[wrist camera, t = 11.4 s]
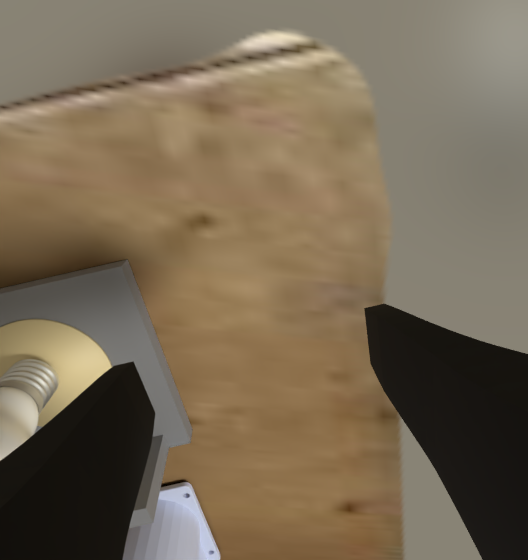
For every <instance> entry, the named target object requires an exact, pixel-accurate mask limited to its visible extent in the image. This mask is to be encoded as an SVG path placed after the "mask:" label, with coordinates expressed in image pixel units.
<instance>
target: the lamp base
mask: <svg viewBox="0 0 528 560" xmlns="http://www.w3.org/2000/svg"><path fill="white" fill-rule="evenodd" d="M24 359H36V360H40V361H43V362H45V363H47V364H49V365H50V366H51V367H52V368H53V369H54V370H55V371H56V373H57V374H58V377H59V386H58V389H57V390H56V392H55V393H54V394H53V396H52V397H51V398H50V400H49V401H48V403H47V404H46V406H45V407H44V408H43V409H42V411H41V413H40V414H39V420H38V425H37V429H36V431H35V433H36V432H37V431H38V430H39V429H41V428H42V427H43V426H44V425H45V424H47V423H48V422H49V421H50V420H51V419H53V418H54V417H55V416H56V415H57V414H58V413H60V412H61V411H62V410H63V409H64V408H65V407H66V406H68V405H69V404H70V403H71V402H72V401H73V400H74V399H75V398H76V397H78V396H79V395H80V394H81V393H82V392H83V391H84V390H85V389H87V388H88V387H89V386H90V385H91V384H92V383H93V382H94V381H96V380H97V379H98V378H99V377H100V376H101V375H103V374H104V373H105V372H106V371H108V370H109V369H110V368H112V367H113V366H115V365H119V364H124V363H128V362H133V361H134V364H135V366H136V368H137V371H138V373H139V375H140V378H141V380H142V382H143V385H144V387H145V389H146V392H147V394H148V397H149V399H150V401H151V404H152V406H153V408H154V411H155V421H154V430H153V437H152V444H151V448H150V452H149V456H148V460H147V463H146V467H145V471H144V475H143V478H142V482H141V485H140V489H139V493H138V496H137V500H136V504H135V507H134V511H133V514H132V518H131V522H130V526H129V528H132V527H137V526H141V525H145V524H150V523H153V522H154V517H155V512H156V507H157V502H158V498H159V493H160V488H161V483H162V478H163V474H164V469H165V464H166V459H167V455H168V450H169V448H170V447H175V446H179V445H183V444H188V443H191V436H192V427H191V424H190V422H189V419H188V416H187V414H186V411H185V409H184V406H183V403H182V401H181V398H180V395H179V393H178V390H177V388H176V385H175V382H174V380H173V377H172V375H171V372H170V369H169V367H168V364H167V361H166V359H165V356H164V354H163V351H162V348H161V346H160V343H159V340H158V338H157V335H156V333H155V330H154V327H153V325H152V322H151V320H150V317H149V314H148V312H147V309H146V306H145V304H144V301H143V299H142V296H141V293H140V291H139V288H138V286H137V283H136V280H135V278H134V275H133V272H132V270H131V267H130V265H129V262H128V259H127V260H123V261H118V262H114V263H109V264H105V265H101V266H96V267H92V268H88V269H83V270H79V271H74V272H70V273H66V274H61V275H57V276H53V277H48V278H44V279H40V280H35V281H31V282H26V283H22V284H18V285H13V286H9V287H5V288H0V378H1V377H2V376H3V375H4V373H6V372H7V371H8V369H9V368H11V367H12V366H13V365H14V364H15V363H16V362H18V361H21V360H24Z"/></svg>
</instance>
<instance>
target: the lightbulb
mask: <svg viewBox="0 0 528 560" xmlns="http://www.w3.org/2000/svg"><path fill="white" fill-rule="evenodd" d="M58 386H59V377H58V374H57V373H56V371H55V370H54V369H53V368H52V367H51V366H50V365H49V364H47V363H45V362H43V361H40V360H36V359H24V360H21V361H18V362H16V363H15V364H14V365H13V366H12V367H11V368H9V369H8V371H7V372H6V373H4V375H3V376H2V377H1V378H0V461H1V460H2V459H3V458H5V457H6V456H7V455H9V454H10V453H11V452H12V451H14V450H15V449H16V448H18V447H19V446H20V445H21V444H23V443H24V442H25V441H26V440H28V439H29V438H30V437H31V436H32V435H34V434H35V431H36V429H37V425H38V420H39V414H40V413H41V411H42V409H43V408H44V407H45V406H46V404H47V403H48V401H49V400H50V398H51V397H52V396H53V394H54V393H55V392H56V390H57V389H58Z"/></svg>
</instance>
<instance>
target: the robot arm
mask: <svg viewBox="0 0 528 560" xmlns="http://www.w3.org/2000/svg"><path fill="white" fill-rule="evenodd" d="M364 309H365V317H366V326H367V335H368V344H369V353H370V362H371V365H372V367H373V369H374V371H375V374H376V376H377V378H378V380H379V382H380V384H381V386H382V388H383V390H384V392H385V393H386V395H387V396H388V398H389V399H390V401H391V402H392V404H393V405H394V407H395V408H396V410H397V411H398V413H399V414H400V416H401V417H402V419H403V420H404V422H405V423H406V425H407V426H408V428H409V429H410V431H411V432H412V434H413V435H414V437H415V438H416V440H417V441H418V443H419V444H420V446H421V447H422V449H423V450H424V452H425V453H426V455H427V457H428V458H429V460H430V461H431V463H432V465H433V466H434V468H435V470H436V471H437V473H438V475H439V477H440V479H441V480H442V482H443V484H444V486H445V488H446V490H447V492H448V494H449V495H450V497H451V499H452V501H453V503H454V505H455V507H456V509H457V510H458V512H459V514H460V516H461V518H462V520H463V522H464V524H465V526H466V528H467V530H468V532H469V534H470V536H471V538H472V540H473V541H474V543H475V545H476V547H477V549H478V551H479V553H480V555H481V557H482V559H483V560H528V354H525V353H521V352H518V351H514V350H510V349H507V348H503V347H499V346H496V345H492V344H489V343H485V342H482V341H479V340H476V339H473V338H471V337H468V336H464V335H462V334H459V333H456V332H453V331H450V330H448V329H445V328H443V327H440V326H438V325H435V324H433V323H430V322H428V321H425V320H423V319H420V318H418V317H416V316H414V315H411V314H409V313H406V312H404V311H402V310H399V309H397V308H394V307H392V306H389V305H386V304H381V305H377V306H372V307H368V308H364ZM154 421H155V411H154V408H153V406H152V404H151V401H150V399H149V397H148V394H147V392H146V389H145V387H144V385H143V382H142V380H141V378H140V375H139V373H138V371H137V368H136V366H135V364H134V361H133V362H128V363H124V364H119V365H115V366H113V367H112V368H110V369H109V370H108V371H106V372H105V373H104V374H103V375H101V376H100V377H99V378H98V379H97V380H96V381H94V382H93V383H92V384H91V385H90V386H89V387H88V388H87V389H85V390H84V391H83V392H82V393H81V394H80V395H79V396H78V397H76V398H75V399H74V400H73V401H72V402H71V403H70V404H69V405H68V406H66V407H65V408H64V409H63V410H62V411H61V412H60V413H58V414H57V415H56V416H55V417H54V418H53V419H51V420H50V421H49V422H48V423H47V424H45V425H44V426H43V427H42V428H41V429H39V430H38V431H37V432H36V433H35V434H34V435H32V436H31V437H30V438H29V439H28V440H26V441H25V442H24V443H23V444H21V445H20V446H19V447H18V448H16V449H15V450H14V451H12V452H11V453H10V454H9V455H7V456H6V457H5V458H3V459H2V460H1V461H0V560H220V553H219V550H218V548H217V545H216V543H215V541H214V538H213V536H212V533H211V531H210V529H209V526H208V524H207V521H206V519H205V517H204V514H203V512H202V509H201V507H200V505H199V502H198V500H197V497H196V495H195V493H194V490H193V488H192V485H191V484H190V483H188V482H182V483H178V484H174V485H169V486H165V487H161V488H160V493H159V498H158V502H157V507H156V512H155V517H154V522H153V523H150V524H145V525H141V526H137V527H132V528H129V526H130V522H131V518H132V514H133V511H134V507H135V504H136V500H137V496H138V493H139V489H140V485H141V482H142V478H143V475H144V471H145V467H146V463H147V460H148V456H149V452H150V448H151V444H152V437H153V430H154Z"/></svg>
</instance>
